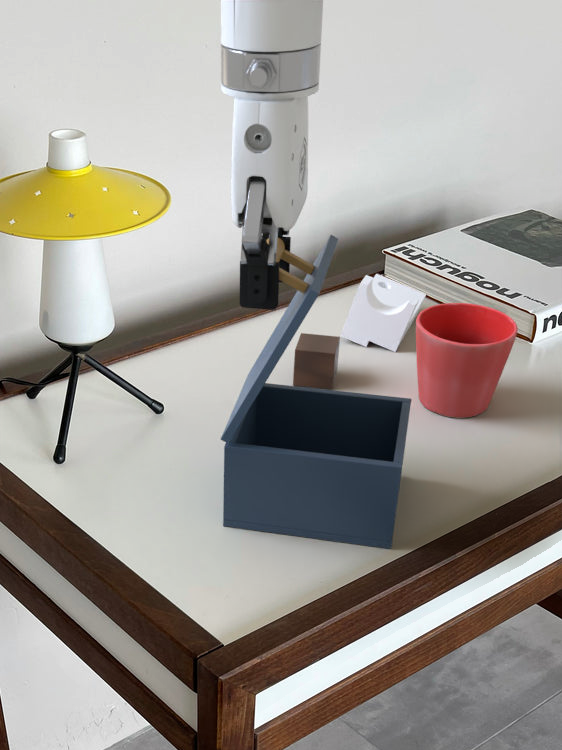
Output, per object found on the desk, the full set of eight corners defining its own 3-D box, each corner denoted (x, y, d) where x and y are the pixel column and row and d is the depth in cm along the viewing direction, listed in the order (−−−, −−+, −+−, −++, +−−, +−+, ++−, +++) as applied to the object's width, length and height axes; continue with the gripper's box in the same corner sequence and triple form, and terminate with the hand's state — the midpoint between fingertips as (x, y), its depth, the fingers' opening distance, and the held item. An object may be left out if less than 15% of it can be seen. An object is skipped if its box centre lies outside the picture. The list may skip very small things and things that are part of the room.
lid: (338, 238, 90) (283, 207, 89) (319, 294, 80) (257, 259, 79) (254, 379, 100) (204, 351, 99) (228, 443, 90) (172, 413, 89)
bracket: (392, 358, 125) (415, 305, 120) (340, 335, 126) (360, 282, 121) (416, 317, 135) (438, 267, 130) (367, 296, 136) (387, 246, 131)
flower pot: (523, 404, 113) (539, 324, 108) (460, 436, 108) (475, 353, 102) (448, 370, 120) (460, 293, 115) (385, 399, 115) (395, 319, 109)
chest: (401, 475, 102) (411, 398, 97) (391, 549, 92) (402, 467, 87) (248, 456, 105) (251, 381, 100) (222, 526, 95) (224, 446, 90)
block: (337, 372, 120) (340, 336, 118) (332, 390, 117) (335, 353, 114) (298, 368, 121) (300, 332, 119) (292, 385, 118) (294, 349, 115)
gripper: (302, 98, 70) (292, 339, 80) (333, 47, 83) (321, 260, 94) (196, 94, 71) (200, 332, 82) (243, 45, 85) (241, 254, 95)
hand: (265, 291), depth 87 cm, fingers closed on lid, 5 cm apart
